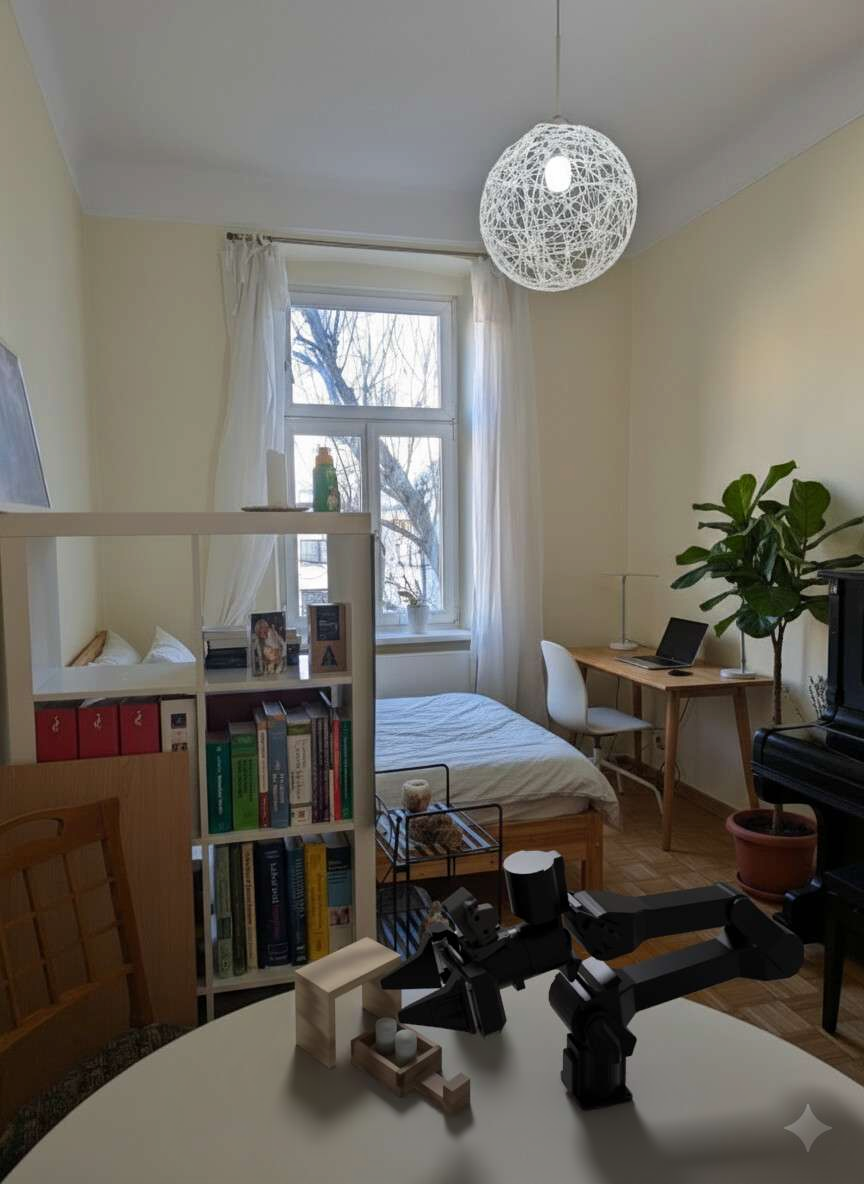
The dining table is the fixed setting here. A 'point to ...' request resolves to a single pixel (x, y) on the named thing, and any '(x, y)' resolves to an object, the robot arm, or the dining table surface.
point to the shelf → (341, 993)
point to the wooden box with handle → (408, 1064)
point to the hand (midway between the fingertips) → (388, 1000)
